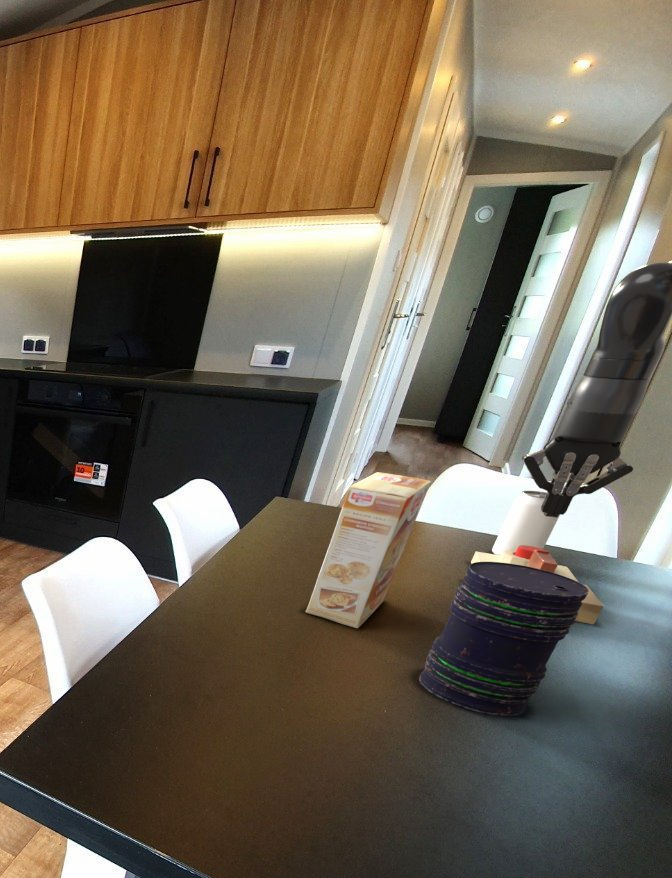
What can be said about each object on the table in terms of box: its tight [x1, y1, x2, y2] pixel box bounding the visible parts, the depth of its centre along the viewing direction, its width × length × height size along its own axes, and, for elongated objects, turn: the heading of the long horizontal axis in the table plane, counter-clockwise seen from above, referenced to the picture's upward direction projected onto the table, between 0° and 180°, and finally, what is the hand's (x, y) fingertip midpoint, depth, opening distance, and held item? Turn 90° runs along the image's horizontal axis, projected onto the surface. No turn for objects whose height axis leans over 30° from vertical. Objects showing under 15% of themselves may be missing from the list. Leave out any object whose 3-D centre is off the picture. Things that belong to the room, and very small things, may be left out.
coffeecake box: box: [305, 471, 432, 629], centre depth 93 cm, size 15×7×20 cm, turn 131°
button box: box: [470, 550, 579, 582], centre depth 109 cm, size 12×9×4 cm
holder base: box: [465, 573, 604, 625], centre depth 100 cm, size 14×11×3 cm
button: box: [515, 545, 545, 560], centre depth 108 cm, size 4×4×2 cm
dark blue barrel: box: [418, 562, 589, 717], centre depth 73 cm, size 10×10×15 cm
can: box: [491, 490, 561, 556], centre depth 117 cm, size 6×6×12 cm
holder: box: [527, 549, 559, 573], centre depth 98 cm, size 7×2×5 cm, turn 144°
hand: (550, 515), depth 105 cm, fingers closed
